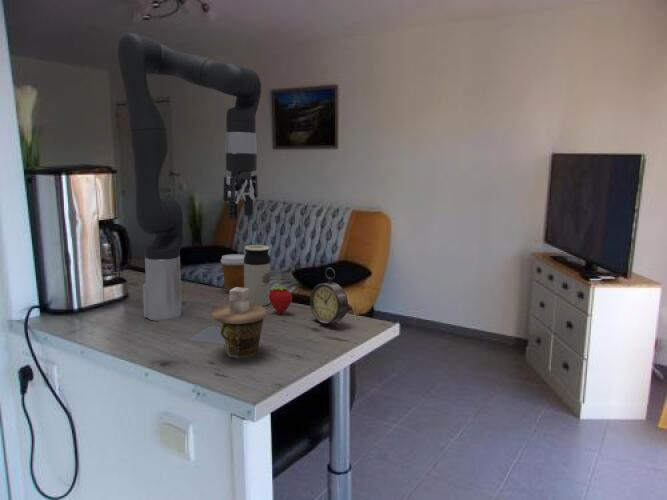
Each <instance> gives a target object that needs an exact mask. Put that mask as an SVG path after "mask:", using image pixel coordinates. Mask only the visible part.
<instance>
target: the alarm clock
mask: <svg viewBox="0 0 667 500" xmlns="http://www.w3.org/2000/svg"><path fill="white" fill-rule="evenodd" d="M328 270H332V271H333V277H328V274H327V273H328V272H327V271H328ZM325 276H326V278H327V282H324V283H318V284H317V285H315V286H314V287H313V289H312V290H311V293H310V297H309V305H310V306H309V307H310V310H311V313H312V315H313V317H314V318H315V321H316V322H317V321H318V322H319V323H320V324H321V323H322V324H324V325H329V324H333V323H334V325H335V327H336V330H340V327H339V323H338V322H339V321H341V320H343V319H344V317H345V316H346V314H347V311H348V308H349V307H348V306H349V301H348V297H347V296H348V295H347V294H346V292H345V290H344V289H343V287H342V286H341V285H339V284H338V283H336V282H332V280H334V279H335V278H336V272H335V270H334V269H333V268H332V267H326V269H325Z"/></svg>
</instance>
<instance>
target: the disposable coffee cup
mask: <svg viewBox="0 0 667 500" xmlns="http://www.w3.org/2000/svg"><path fill="white" fill-rule="evenodd" d="M245 255H246V254H239V253H237V254H235V253H231V254H224V255H222V256H221V259H220V262H221V265H222V273H223V281H224V287H225V292H226V293H227V292H229V290H231V289H233V288H235V287H240V288H244V257H245Z"/></svg>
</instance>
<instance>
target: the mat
mask: <svg viewBox="0 0 667 500" xmlns="http://www.w3.org/2000/svg"><path fill="white" fill-rule="evenodd" d="M187 341H192V342H200V343H207V344H214V345H221V346H226V344H225V339H224V338H223V337H222V336H221V327H220V326H211V325H210V326H208V327H206V328H204V329H203V330H201V331H200V332H197V333H196V334H195V335H193V336H191V337H190V338H188V339H187Z"/></svg>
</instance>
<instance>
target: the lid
mask: <svg viewBox="0 0 667 500" xmlns="http://www.w3.org/2000/svg"><path fill="white" fill-rule="evenodd" d="M228 294H229V297H228V299H229V304H224V305H220V306H217V307H215V308H213V310H212V311H211V317H212V320H214V321H216V322H217V323H218V322H219V323H221V322H222V323H229V324H244V323H252V322H256V321H259V320H262V319H263V320H264V319H265V318H266V316H267V309H266V308H265V306H259V305H255V304H249V288H240V287H235V288H233V289H231V290H229V293H228Z"/></svg>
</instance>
